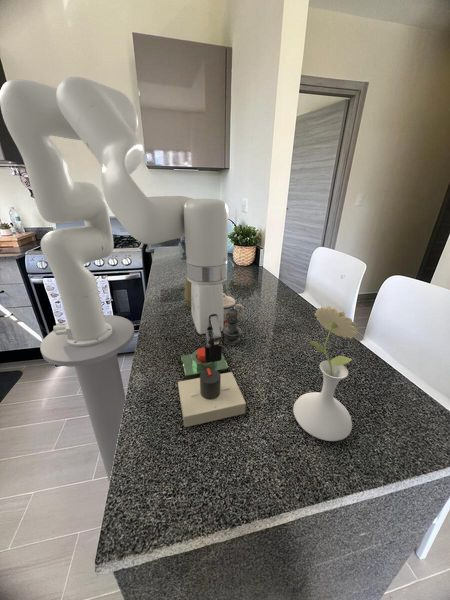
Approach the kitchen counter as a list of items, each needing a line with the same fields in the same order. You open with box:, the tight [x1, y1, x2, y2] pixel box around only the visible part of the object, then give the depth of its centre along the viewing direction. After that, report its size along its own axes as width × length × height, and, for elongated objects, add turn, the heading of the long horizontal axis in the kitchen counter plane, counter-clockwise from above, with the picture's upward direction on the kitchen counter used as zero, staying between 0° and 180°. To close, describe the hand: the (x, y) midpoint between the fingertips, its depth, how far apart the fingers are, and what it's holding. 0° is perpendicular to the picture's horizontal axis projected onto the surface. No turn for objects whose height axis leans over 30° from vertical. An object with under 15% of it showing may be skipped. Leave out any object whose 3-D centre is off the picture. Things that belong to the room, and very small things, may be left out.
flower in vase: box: [293, 305, 359, 442], centre depth 48 cm, size 13×11×25 cm
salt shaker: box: [222, 306, 243, 346], centre depth 76 cm, size 6×6×12 cm
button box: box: [180, 349, 230, 381], centre depth 66 cm, size 11×8×4 cm
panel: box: [177, 371, 247, 428], centre depth 56 cm, size 13×10×3 cm
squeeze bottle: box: [183, 276, 191, 309], centre depth 96 cm, size 8×8×18 cm
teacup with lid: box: [223, 292, 245, 329], centre depth 85 cm, size 12×9×12 cm
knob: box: [200, 368, 221, 400], centre depth 54 cm, size 4×4×5 cm
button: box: [197, 347, 205, 361], centre depth 65 cm, size 4×4×2 cm
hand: (208, 346), depth 54 cm, fingers open, 9 cm apart
